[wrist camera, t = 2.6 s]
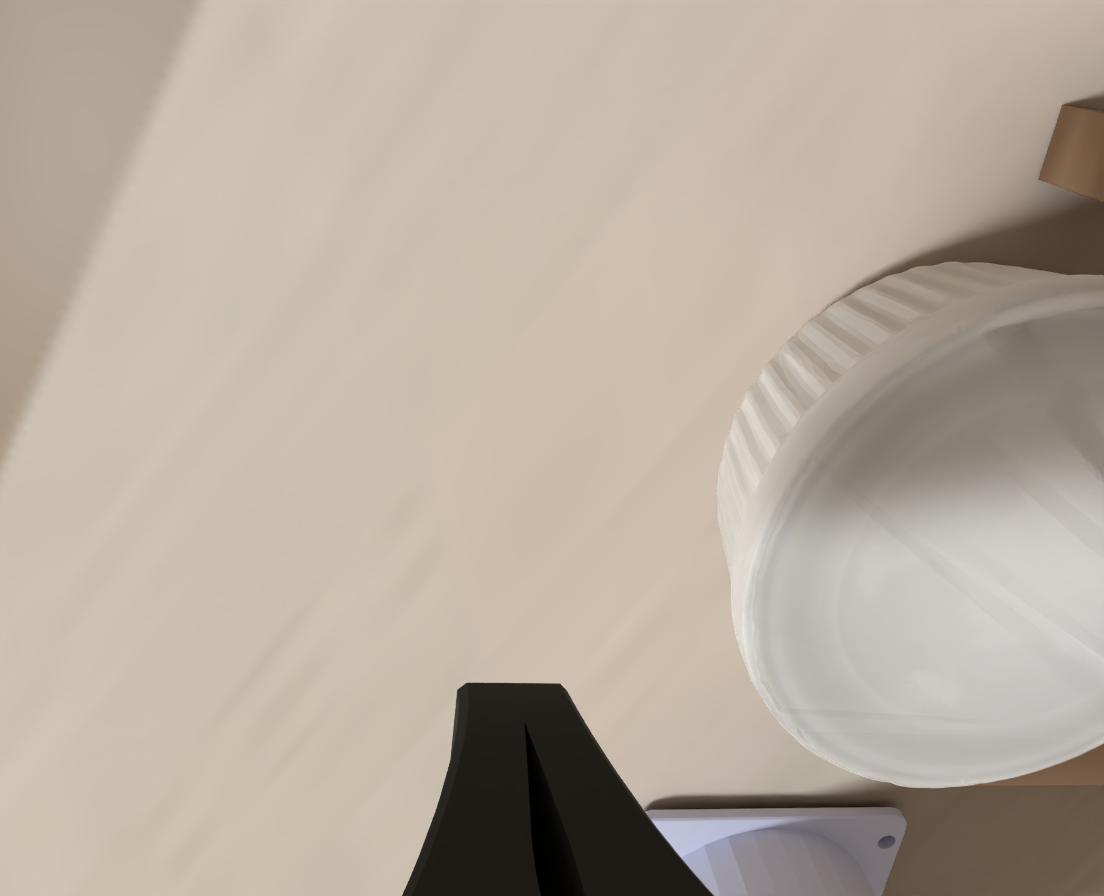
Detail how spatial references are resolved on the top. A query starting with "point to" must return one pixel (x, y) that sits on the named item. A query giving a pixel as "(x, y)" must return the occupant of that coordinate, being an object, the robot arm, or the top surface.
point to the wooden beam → (1100, 172)
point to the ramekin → (928, 526)
